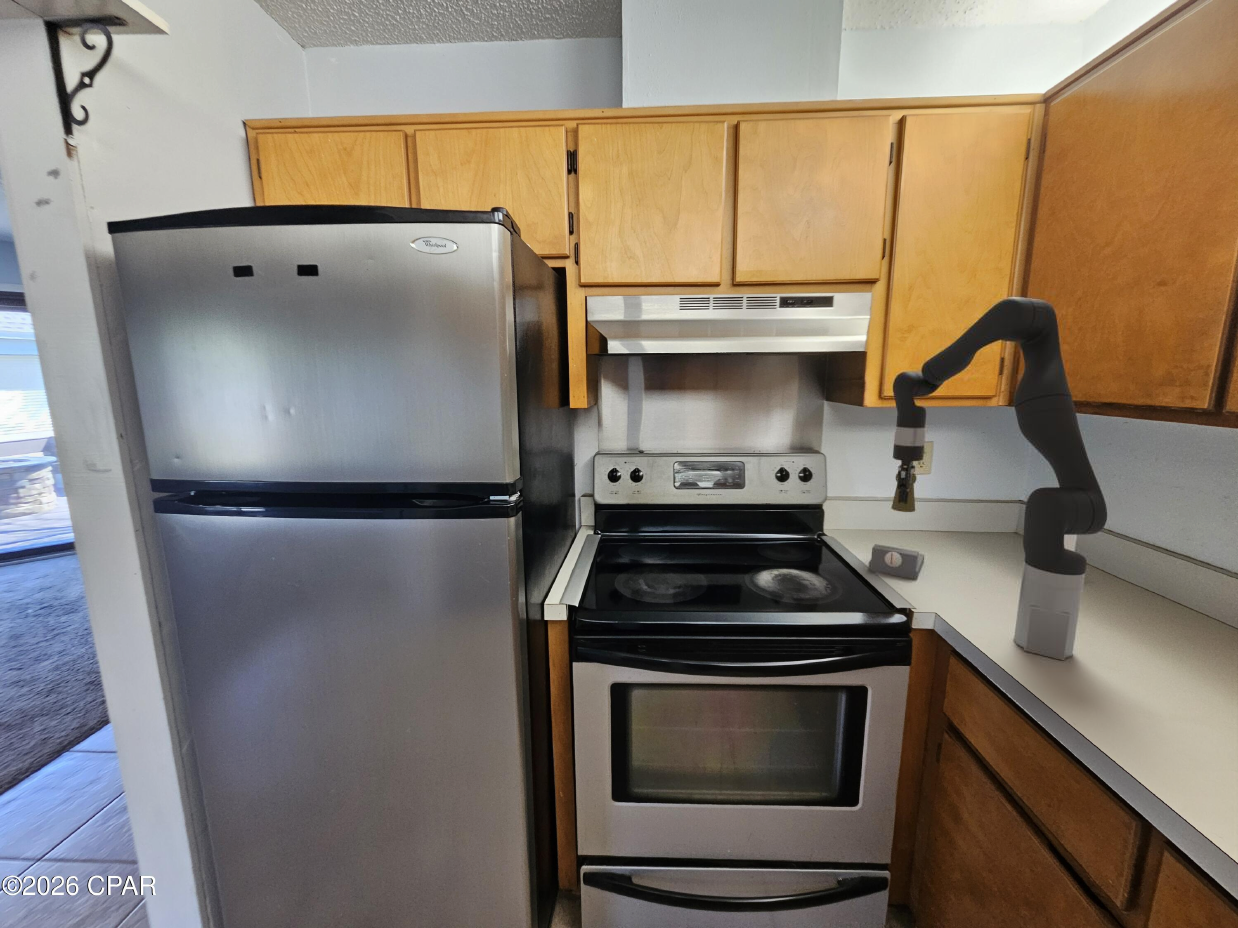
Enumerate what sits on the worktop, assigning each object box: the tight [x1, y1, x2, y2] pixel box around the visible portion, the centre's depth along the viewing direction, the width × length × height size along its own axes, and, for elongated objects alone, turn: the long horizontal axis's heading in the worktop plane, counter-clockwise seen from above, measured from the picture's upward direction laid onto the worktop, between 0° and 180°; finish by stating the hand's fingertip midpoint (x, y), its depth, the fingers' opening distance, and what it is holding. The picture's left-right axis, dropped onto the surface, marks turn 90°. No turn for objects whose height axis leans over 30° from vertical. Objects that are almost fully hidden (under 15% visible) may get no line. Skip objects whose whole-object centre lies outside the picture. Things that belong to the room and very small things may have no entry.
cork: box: [891, 472, 918, 513], centre depth 144 cm, size 6×6×11 cm
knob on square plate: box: [868, 543, 925, 581], centre depth 145 cm, size 16×12×7 cm
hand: (903, 501), depth 144 cm, fingers closed on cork, 3 cm apart
